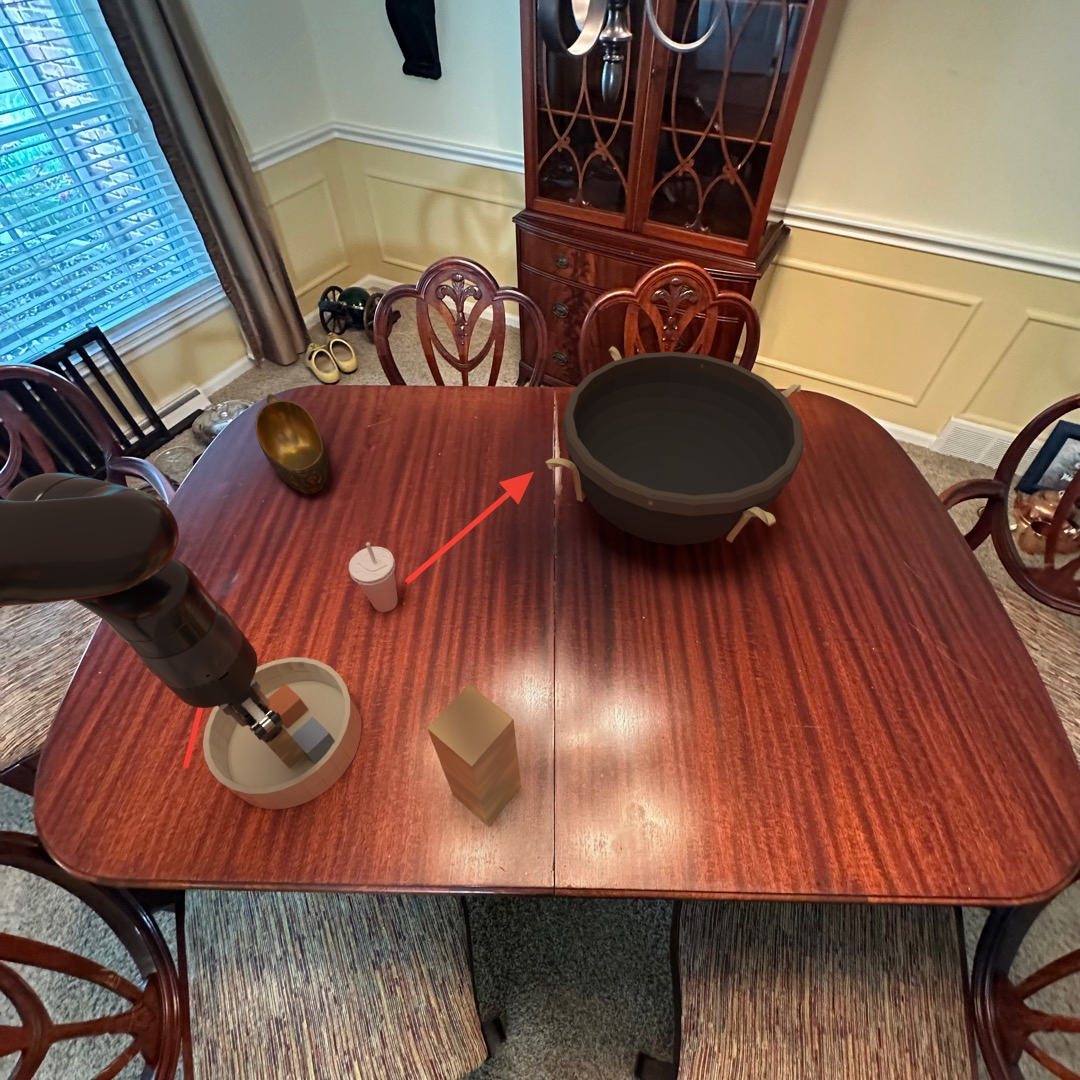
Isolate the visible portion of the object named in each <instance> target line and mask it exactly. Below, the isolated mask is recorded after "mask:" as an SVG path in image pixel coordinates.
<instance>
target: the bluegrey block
mask: <svg viewBox="0 0 1080 1080" xmlns="http://www.w3.org/2000/svg"><path fill="white" fill-rule="evenodd" d="M292 738H293V739H294V740H295V741H296V743H297V744H298V745H299V746H300V747H301V749H302V750H303V751H304V752H305V754H306V755H307V756H308V757H309V758H310V759H311V760H312V761H313V762H314V763H315V764H316V763H317V762H318V761H319V760H320V759H321V758H322V757H323V756H324V755H325V754H326V753H327V752H328V750H329V749H330V748H331V746H332V745H333V744H334V742H335V740H334V739H333V738H332V736H331V735H330V733H329V732H328V731H327V730H326V729H325V728H324V727H323V726H322V725H321V724H320V723H318V722H317V721H316V720H315V719H314V718H313V717H312V718H311V719H309V720H308V721H307V722H306V723H305V724H304V725H303V726H302V727H301V728H300V729H298V730H297V731H296V732H295V733H294V734H293V735H292Z"/></svg>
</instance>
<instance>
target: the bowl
mask: <svg viewBox="0 0 1080 1080" xmlns="http://www.w3.org/2000/svg"><path fill="white" fill-rule="evenodd" d="M608 352H609V354H610V356H611V357H612V359H613V360H612V361H610V362H608V363H607V364H605V365H603V366H602V367H600V368H598V369H596V370H594V371H593V372H590V373H588V374H587V375H586V376H585V377H584V378H583V380H582V381H581V382H580V383H579V384H578V385H577V386H576V387H575V389H574V390H572V392H571V393H570V394H569V398H568V400H567V403H566V407H565V411H564V413H563V417H562V424H561V428H562V429H561V430H562V433H563V439H564V443H565V448H566V452H567V455H568V459H567V458H560V457H552V458H550V459H547V460H546V461H545V465H546V467H547V469H549V470H552V469H555V468H560V467H566V468H567V469H569V470H570V472H571V475H572V479H573V483H574V489H575V495H576V501H579V502H581V503H582V502H584V500H585V499H587V500H588V502H589V503H590V505H591V506H592V507H593V509H595V511H596V512H597V513H598V514H599V515H600V516H602V517H603V518H605V519H606V520H607V521H608V522H610V523H611V525H614V526H615V527H617V528H618V529H619V530H620V531H623V532H625V533H628V534H630V535H632V536H635V537H638V538H639V539H642V540H645V541H646V542H653V543H658V544H666V545H671V546H682V545H692V544H693V545H694V544H706V543H708V542H710V541H714V540H716V539H719V538H722V537H724V536H726V539H725V540H726V541H728V542H729V543H730V544H731V543H733V541H734V540H735V539H736V536H737V535H738V534H739V533H740V532H741V530H742V529H743V528H745V526H747V525H748V524H749V523H751V522H752V521H753V520H754V519H756V518H759V519H760V520H762V522H764V523H765V525H767V526H768V527H771V526H773V525H775V524H776V523H777V521H776V518H775V515H774V514H772V513H771V512H768V511H765V510H766V509H768V508H769V507H770V506H771V505H772V504H773V503H774V501H775V500H777V498H778V497H779V496H780V495H781V493H782V491H783V490H784V488H785V486H786V485H787V484H789V483H791V481H792V479H793V477H794V475H795V473H796V470H797V467H798V466H799V463H800V461H801V459H802V456H803V452H804V449H805V444H804V442H805V441H804V432H803V423H802V421H801V419H800V417H799V415H798V413H797V412H796V411H795V409H794V407H793V406H792V404H791V402H790V400H789V399H788V397H789V396H790V395H794V394H796V393H799V392H801V389H802V385H801V384H795V383H794V384H791V385H790V386H788V387H787V389H785V390H783V391H780V390H779V389H778V388H776V387H775V386H774V385H773V384H771V382H769V381H768V380H767V379H766V378H764V377H762V376H760V375H758V374H756V373H755V372H753V371H751V370H749V369H747V368H745V367H743V366H741V365H739V364H737V363H734V362H731V361H728V360H727V361H726V360H724V359H720V358H716V357H713V356H709V355H707V354H706V355H705V354H698V353H697V354H696V353H688V352H680V351H663V352H662V351H661V352H649V353H648V352H647V353H646V352H645V353H638V354H634V355H631V356H628V357H623V358H622V356H621V353H620V352H619V350H618V349H617V348H616V347H615V346H613V345H612V346H611V347H610V348H609V349H608Z"/></svg>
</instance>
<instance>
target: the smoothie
mask: <svg viewBox="0 0 1080 1080" xmlns="http://www.w3.org/2000/svg"><path fill="white" fill-rule="evenodd" d="M365 546H366V547H365V548H363V549H360V550H359V551H357V552H356V553H354V555H353V556H352V557H351V558H350V561H349V564H348V571H349V574H350V577H351V579H352V580H353V581H354V582H355V583H357V584H358V585H359V587H360V588H361V590H362V592H363V593H364V594H365V596H366V597H367V599H368V600H369V602H370V603H371V605H372V606H373V608H374V609H375V610H376V611H377V612H380V613H388V612H390V611H392V610H393V609H395V608H396V606H397V605H398V603H399V601H398V599H399V598H398V591H397V590H398V589H397V581H396V575H395V568H396V560H395V557H394V555H393V553H392V552H391V551H390V550H389V549H387V548H385V547H383V546H371V542H369V541H367V542H366V543H365Z"/></svg>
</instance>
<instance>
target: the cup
mask: <svg viewBox="0 0 1080 1080" xmlns="http://www.w3.org/2000/svg"><path fill="white" fill-rule="evenodd" d="M266 401H267V404H265V405H263V406H262V407H261V408H260V409H259V411H258V412H257V414H256V417H255V424H254V425H255V434H256V438H257V442H258V444H259V446H260V449H261V450H262V452H263V455H264V457H265V458H266V460H267V461H268V463H269V464H270V465H271V467H272V469H273V470H274V471H275V473H276V474H277V476H279V478H281V479H282V481H284V483H286V484H287V485H288V486H289V487H291V488H292V489H294V490H295V491H297V492H299V493H301V494H304V495H313V494H317V493H319V492H321V491H322V490H323V489H324V488H325V486H326V484H327V480H328V475H329V458H328V453H327V449H326V446H325V442H324V439H323V436H322V433H321V431H320V429H319V427H318V424H317V423H316V421H315V419H314V418H313V416H312V414H310V412H309V411H308V410H307V409H306V408H305V407H304V405H301V404H300V403H298V402H296V401H292V400H289V399H288V400H287V399H281V400H278V398H277V396H275V395H274V394H272V393H268V394H267V396H266Z"/></svg>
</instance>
